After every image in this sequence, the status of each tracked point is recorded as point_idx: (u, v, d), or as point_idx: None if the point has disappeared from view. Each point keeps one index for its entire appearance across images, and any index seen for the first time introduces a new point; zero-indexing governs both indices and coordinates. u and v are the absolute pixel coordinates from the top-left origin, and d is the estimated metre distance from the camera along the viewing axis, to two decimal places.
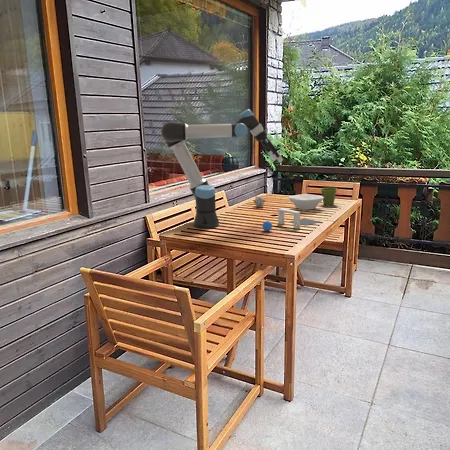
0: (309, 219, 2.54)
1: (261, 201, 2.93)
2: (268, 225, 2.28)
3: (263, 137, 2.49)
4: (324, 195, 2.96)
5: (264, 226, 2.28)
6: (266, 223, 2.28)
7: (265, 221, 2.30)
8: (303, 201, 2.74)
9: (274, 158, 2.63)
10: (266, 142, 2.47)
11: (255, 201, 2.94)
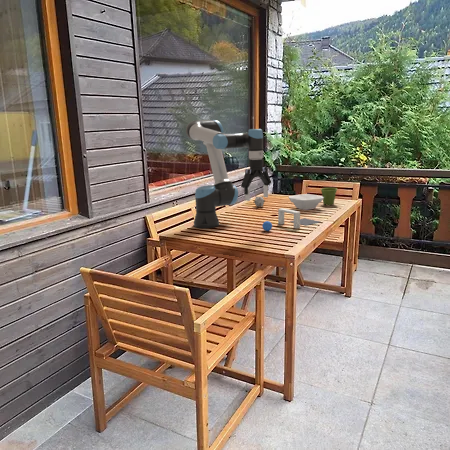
0: (309, 219, 2.54)
1: (261, 201, 2.93)
2: (268, 225, 2.28)
3: (251, 166, 2.16)
4: (324, 195, 2.96)
5: (264, 226, 2.28)
6: (266, 223, 2.28)
7: (265, 221, 2.30)
8: (303, 201, 2.74)
9: (264, 195, 2.26)
10: (245, 172, 2.15)
11: (255, 201, 2.94)
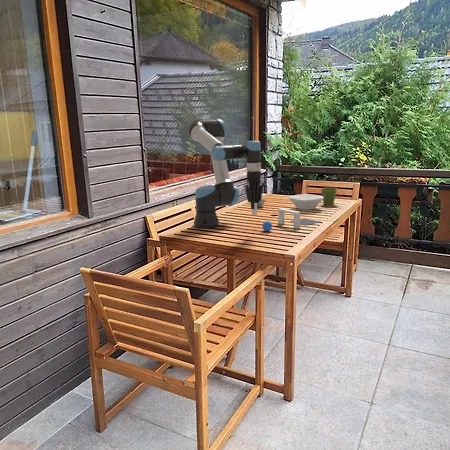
0: (309, 219, 2.54)
1: (261, 201, 2.93)
2: (268, 225, 2.28)
3: None
4: (324, 195, 2.96)
5: (264, 226, 2.28)
6: (266, 223, 2.28)
7: (265, 221, 2.30)
8: (303, 201, 2.74)
9: None
10: (245, 188, 2.17)
11: None
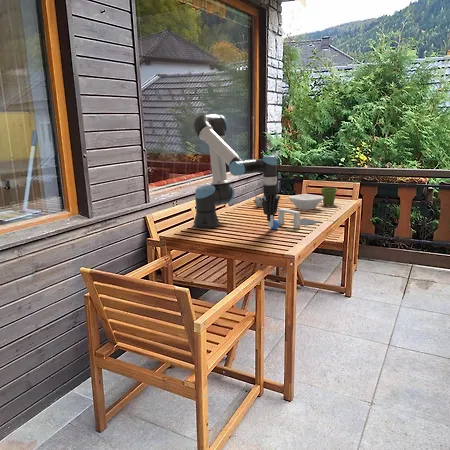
0: (309, 219, 2.54)
1: None
2: (277, 223, 2.31)
3: None
4: (324, 195, 2.96)
5: (274, 220, 2.31)
6: (277, 221, 2.32)
7: None
8: (303, 201, 2.74)
9: None
10: (261, 201, 2.25)
11: (255, 201, 2.94)
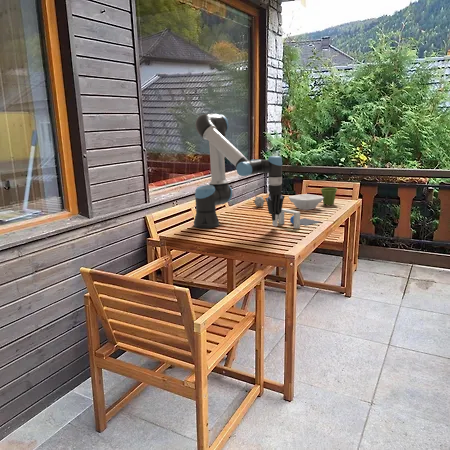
0: (309, 219, 2.54)
1: (261, 201, 2.93)
2: None
3: None
4: (324, 195, 2.96)
5: None
6: None
7: None
8: (303, 201, 2.74)
9: None
10: None
11: (255, 201, 2.94)
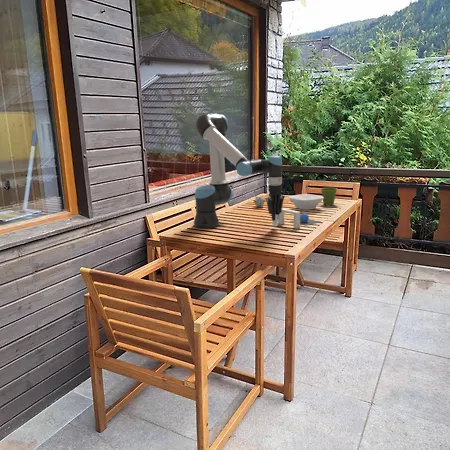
0: (309, 219, 2.54)
1: (261, 201, 2.93)
2: (307, 220, 2.46)
3: None
4: (324, 195, 2.96)
5: None
6: None
7: (301, 221, 2.48)
8: (303, 201, 2.74)
9: None
10: None
11: (255, 201, 2.94)
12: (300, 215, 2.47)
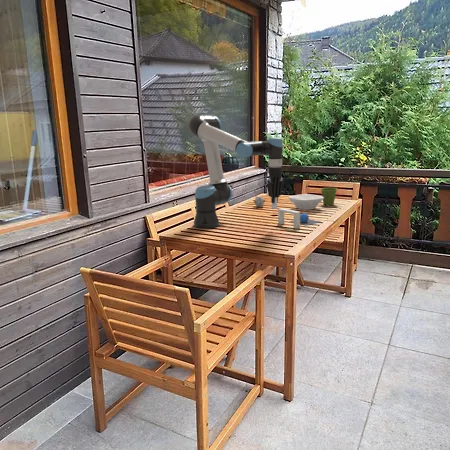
0: (309, 219, 2.54)
1: (261, 201, 2.93)
2: (307, 220, 2.46)
3: None
4: (324, 195, 2.96)
5: None
6: None
7: (301, 221, 2.48)
8: (303, 201, 2.74)
9: None
10: (266, 183, 2.25)
11: (255, 201, 2.94)
12: (300, 215, 2.47)
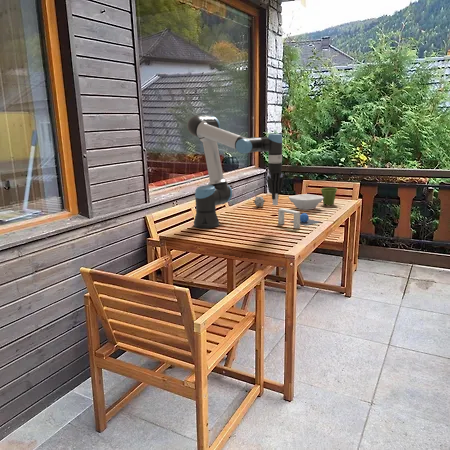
0: (309, 219, 2.54)
1: (261, 201, 2.93)
2: (307, 220, 2.46)
3: None
4: (324, 195, 2.96)
5: None
6: None
7: (301, 221, 2.48)
8: (303, 201, 2.74)
9: None
10: (266, 179, 2.25)
11: (255, 201, 2.94)
12: (300, 215, 2.47)
